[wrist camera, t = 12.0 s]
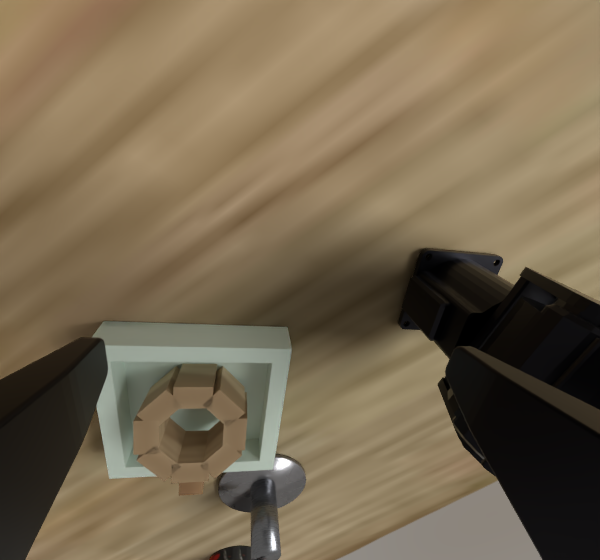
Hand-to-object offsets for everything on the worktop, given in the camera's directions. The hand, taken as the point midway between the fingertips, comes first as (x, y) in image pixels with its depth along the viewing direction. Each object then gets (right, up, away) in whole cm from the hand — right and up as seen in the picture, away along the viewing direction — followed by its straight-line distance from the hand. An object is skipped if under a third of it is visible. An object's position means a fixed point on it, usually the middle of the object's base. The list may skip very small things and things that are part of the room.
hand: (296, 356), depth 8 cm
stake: (-4, -18, +23) cm, 29 cm away
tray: (-8, -7, +17) cm, 19 cm away
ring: (-8, -8, +15) cm, 19 cm away
